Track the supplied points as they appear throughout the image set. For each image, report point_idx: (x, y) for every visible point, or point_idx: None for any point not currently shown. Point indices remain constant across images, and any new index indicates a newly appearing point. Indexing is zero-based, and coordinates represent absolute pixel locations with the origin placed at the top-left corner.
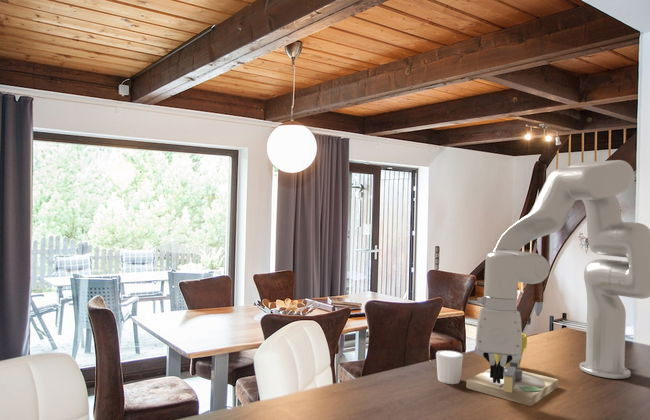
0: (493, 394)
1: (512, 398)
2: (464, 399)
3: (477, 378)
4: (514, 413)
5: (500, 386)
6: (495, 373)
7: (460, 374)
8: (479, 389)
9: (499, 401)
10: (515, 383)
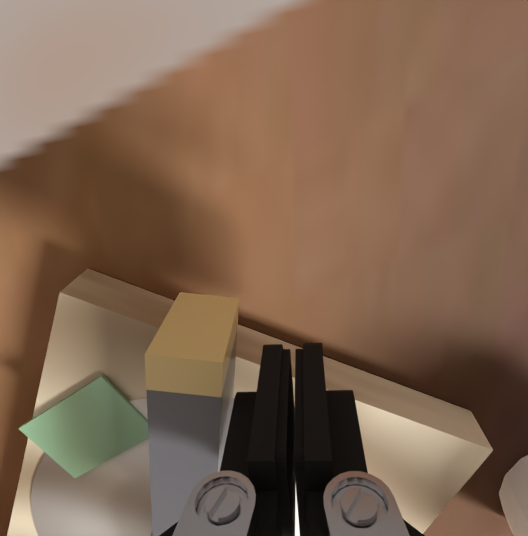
0: None
1: None
2: (505, 217)
3: (415, 494)
4: (165, 95)
5: None
6: (307, 397)
7: (522, 525)
8: (396, 391)
9: (272, 275)
10: None
